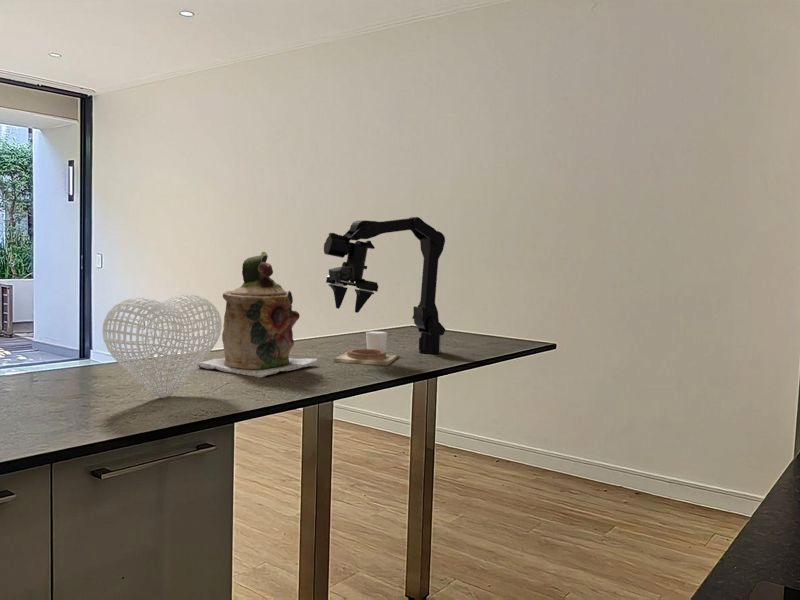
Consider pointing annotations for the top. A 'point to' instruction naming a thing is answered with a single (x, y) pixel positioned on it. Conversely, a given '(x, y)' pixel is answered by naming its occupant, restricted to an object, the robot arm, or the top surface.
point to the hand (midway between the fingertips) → (346, 310)
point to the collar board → (366, 357)
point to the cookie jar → (258, 325)
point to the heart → (162, 339)
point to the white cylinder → (376, 340)
